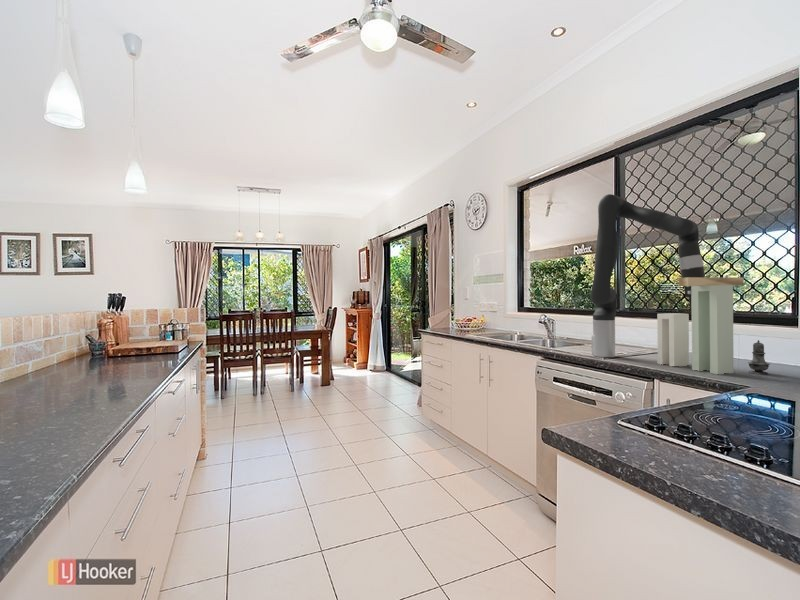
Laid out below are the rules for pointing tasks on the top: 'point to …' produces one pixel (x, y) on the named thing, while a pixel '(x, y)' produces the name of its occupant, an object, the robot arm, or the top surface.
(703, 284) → the oak slat
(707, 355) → the sage stand
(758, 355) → the salt shaker
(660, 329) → the cream shelf
